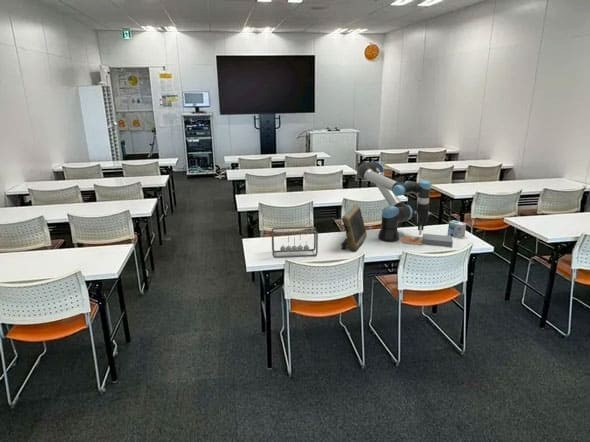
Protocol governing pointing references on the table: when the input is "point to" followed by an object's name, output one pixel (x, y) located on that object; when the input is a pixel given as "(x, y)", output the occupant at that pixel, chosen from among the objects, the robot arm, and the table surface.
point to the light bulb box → (456, 229)
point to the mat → (409, 240)
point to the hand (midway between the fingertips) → (420, 234)
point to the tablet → (354, 229)
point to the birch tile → (416, 239)
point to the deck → (437, 240)
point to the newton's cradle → (294, 248)
